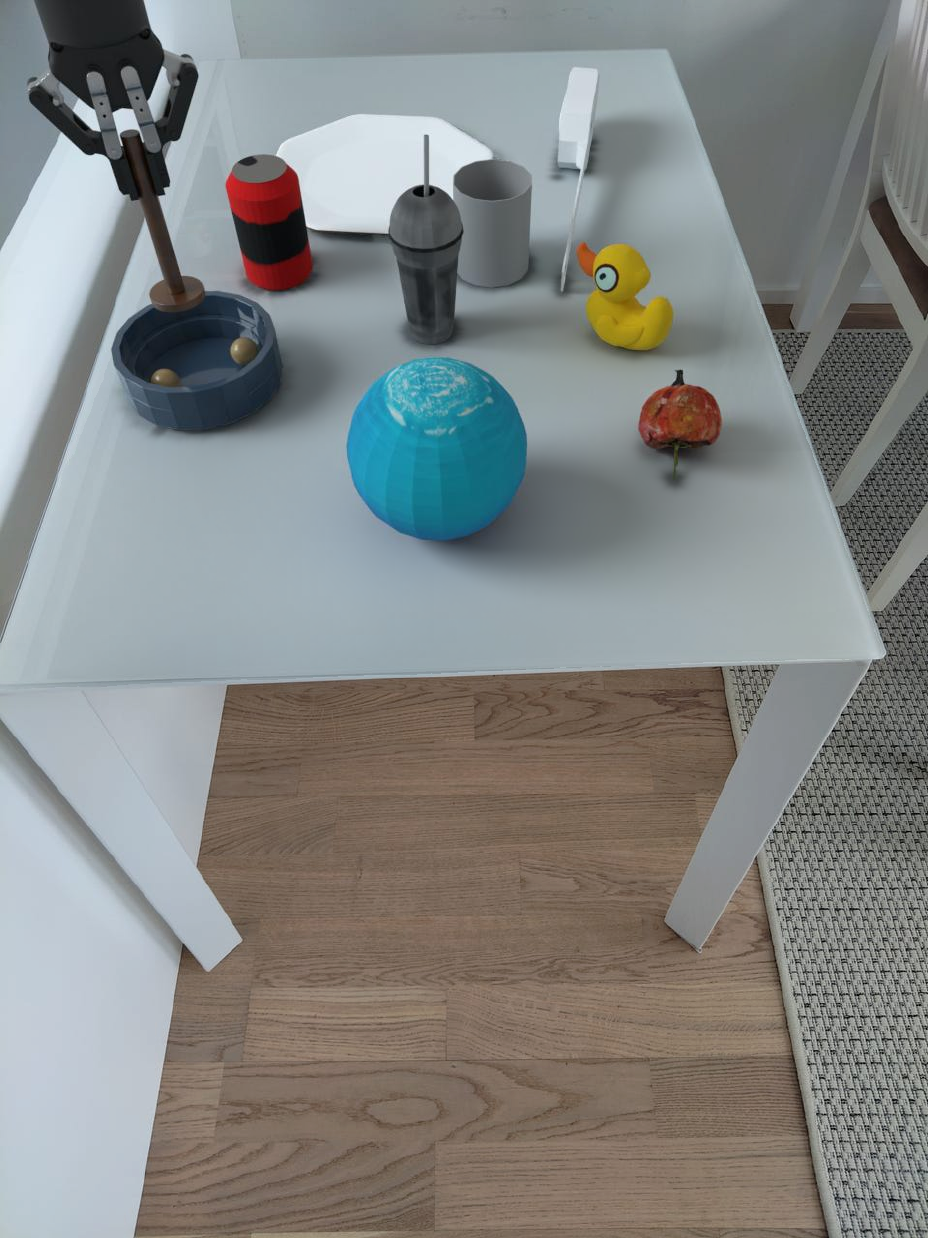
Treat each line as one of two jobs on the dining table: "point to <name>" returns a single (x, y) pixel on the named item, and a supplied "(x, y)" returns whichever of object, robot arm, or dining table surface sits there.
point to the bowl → (198, 362)
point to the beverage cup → (427, 256)
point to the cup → (493, 221)
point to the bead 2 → (244, 351)
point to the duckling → (623, 298)
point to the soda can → (269, 222)
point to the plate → (373, 167)
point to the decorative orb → (437, 448)
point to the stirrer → (160, 236)
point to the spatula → (577, 133)
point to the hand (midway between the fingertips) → (147, 192)
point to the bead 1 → (166, 378)
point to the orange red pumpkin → (680, 418)
